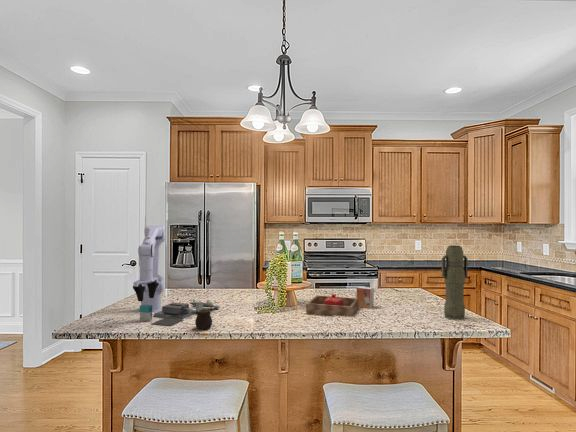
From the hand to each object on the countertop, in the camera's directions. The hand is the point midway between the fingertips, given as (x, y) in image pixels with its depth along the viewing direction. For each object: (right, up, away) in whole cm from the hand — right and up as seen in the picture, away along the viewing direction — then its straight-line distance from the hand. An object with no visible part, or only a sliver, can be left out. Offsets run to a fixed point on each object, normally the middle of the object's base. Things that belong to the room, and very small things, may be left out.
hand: (146, 299), depth 177 cm
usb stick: (0, -10, 0) cm, 10 cm away
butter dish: (+90, -11, +22) cm, 93 cm away
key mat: (+11, -10, -4) cm, 15 cm away
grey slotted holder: (+14, -8, +9) cm, 19 cm away
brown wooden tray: (+89, -10, +20) cm, 92 cm away
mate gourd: (+30, -10, -13) cm, 34 cm away
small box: (+108, -11, +29) cm, 112 cm away
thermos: (+145, -11, +3) cm, 145 cm away
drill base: (+11, -10, +10) cm, 18 cm away
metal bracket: (+30, -8, +18) cm, 36 cm away
